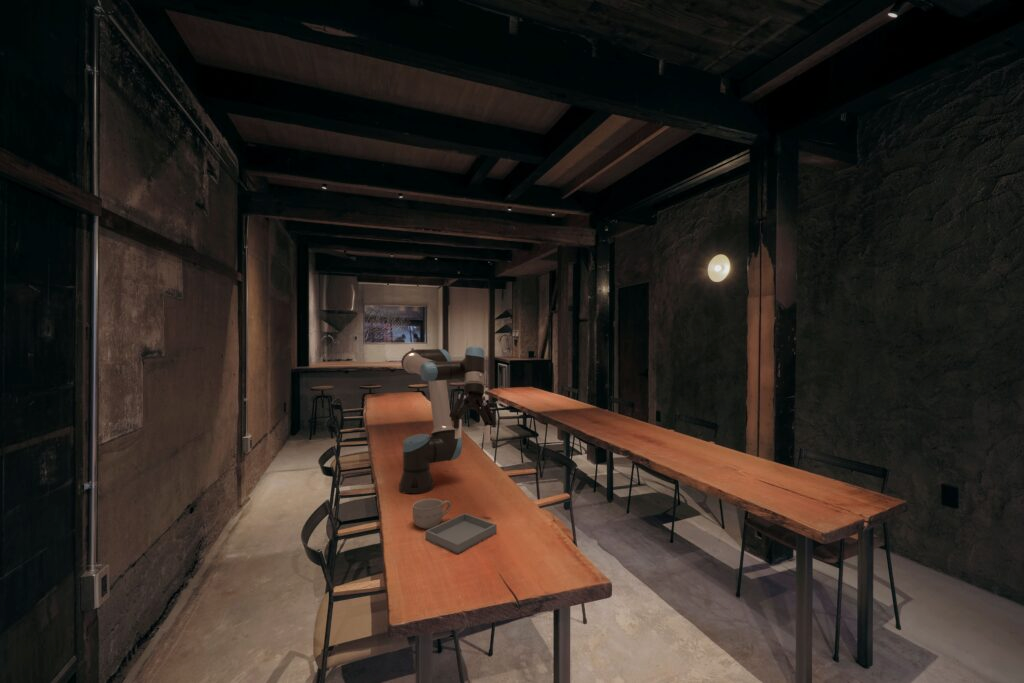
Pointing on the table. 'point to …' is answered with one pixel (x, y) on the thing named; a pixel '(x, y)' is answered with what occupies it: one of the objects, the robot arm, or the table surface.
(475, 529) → the tray
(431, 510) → the teacup
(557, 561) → the table surface
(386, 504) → the table surface
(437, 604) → the table surface
